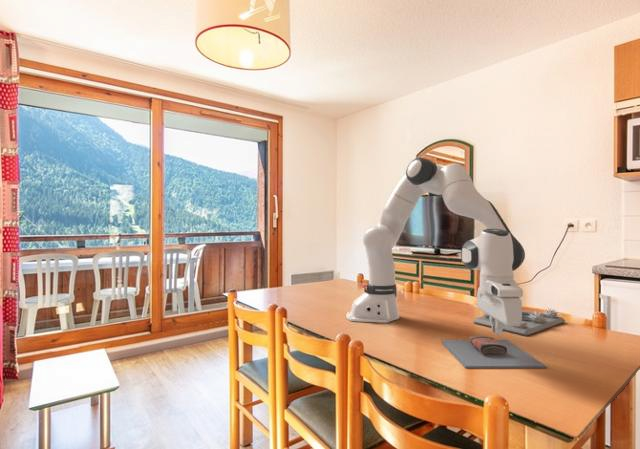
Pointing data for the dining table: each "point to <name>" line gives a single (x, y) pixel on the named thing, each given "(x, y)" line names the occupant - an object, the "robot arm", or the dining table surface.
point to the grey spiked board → (527, 322)
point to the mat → (491, 356)
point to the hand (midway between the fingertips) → (497, 333)
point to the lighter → (488, 345)
